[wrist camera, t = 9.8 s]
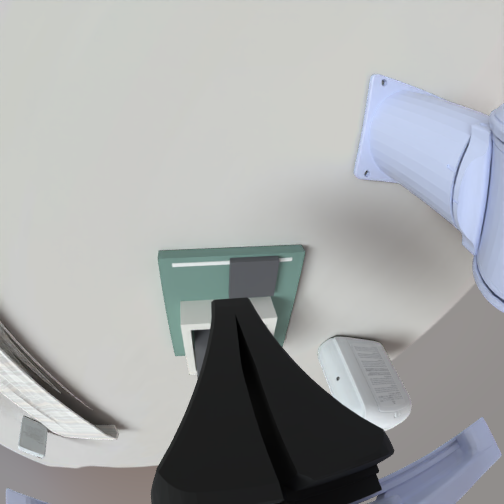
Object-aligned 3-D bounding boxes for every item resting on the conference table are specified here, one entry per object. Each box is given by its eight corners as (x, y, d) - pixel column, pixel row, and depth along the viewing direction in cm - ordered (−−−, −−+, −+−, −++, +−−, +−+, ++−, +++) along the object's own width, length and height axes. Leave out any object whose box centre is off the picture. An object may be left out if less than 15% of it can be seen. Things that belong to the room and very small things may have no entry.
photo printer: (310, 354, 33) (344, 444, 23) (331, 331, 31) (374, 426, 21) (364, 358, 37) (398, 430, 27) (383, 339, 35) (423, 412, 25)
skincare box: (22, 414, 35) (18, 445, 29) (48, 425, 38) (45, 456, 32) (21, 421, 37) (17, 449, 31) (45, 431, 40) (42, 459, 34)
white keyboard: (-64, 270, 12) (119, 444, 36) (-46, 246, 15) (120, 425, 40) (-95, 290, 12) (67, 441, 36) (-82, 270, 15) (69, 424, 39)
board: (301, 244, 23) (316, 272, 20) (280, 339, 30) (288, 366, 27) (158, 250, 21) (155, 281, 18) (175, 348, 27) (175, 377, 25)
